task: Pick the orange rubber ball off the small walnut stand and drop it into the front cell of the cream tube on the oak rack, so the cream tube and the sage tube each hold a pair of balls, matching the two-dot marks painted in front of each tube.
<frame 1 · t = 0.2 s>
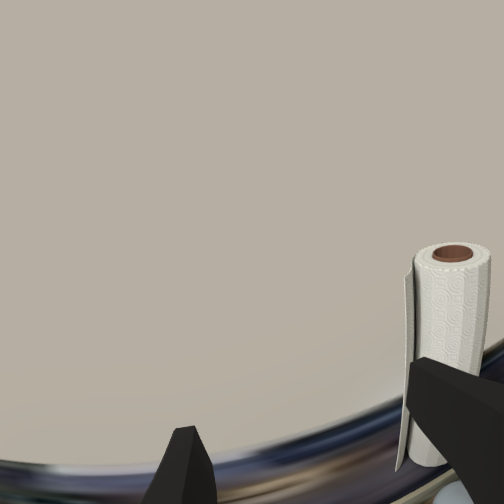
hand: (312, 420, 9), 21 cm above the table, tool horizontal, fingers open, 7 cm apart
ball slate b: (455, 502, 15), point 3 cm above the table, touching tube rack
paper towel roll: (428, 448, 25), on the table
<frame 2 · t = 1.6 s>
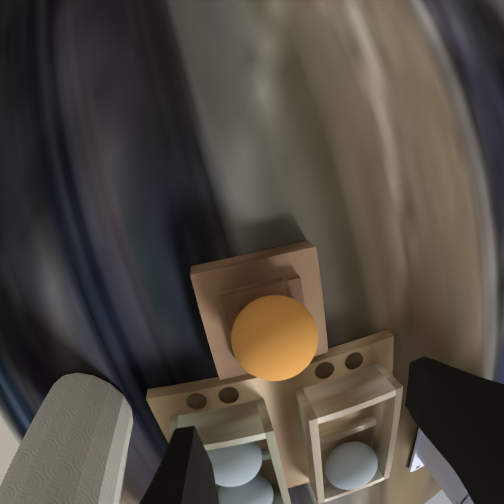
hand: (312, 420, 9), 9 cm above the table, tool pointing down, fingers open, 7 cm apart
ball slate c: (245, 495, 18), point 3 cm above the table, touching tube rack
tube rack: (286, 436, 21), on the table
ball orange: (274, 338, 15), point 4 cm above the table, touching stand
stand: (260, 307, 18), on the table
ball slate b: (229, 457, 17), point 3 cm above the table, touching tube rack
ball slate a: (351, 465, 19), point 3 cm above the table, touching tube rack
paper towel roll: (92, 409, 18), on the table
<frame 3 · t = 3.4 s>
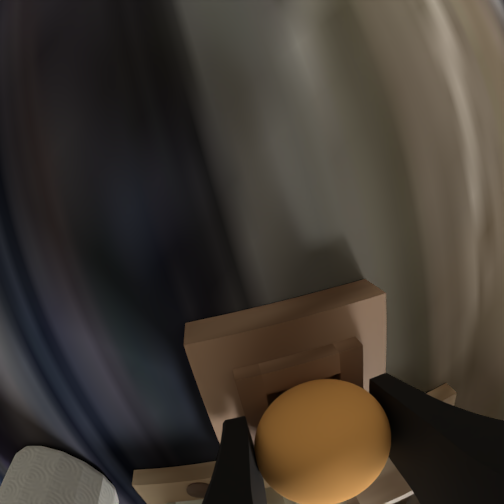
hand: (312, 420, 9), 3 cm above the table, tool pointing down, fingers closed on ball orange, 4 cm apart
ball orange: (323, 443, 8), point 4 cm above the table, touching gripper, stand
stand: (291, 376, 12), on the table
paper towel roll: (67, 481, 12), on the table
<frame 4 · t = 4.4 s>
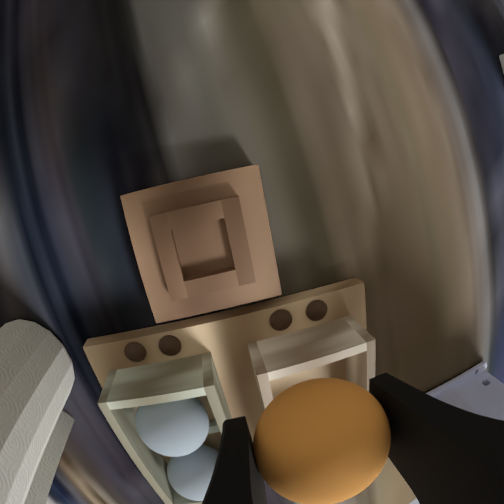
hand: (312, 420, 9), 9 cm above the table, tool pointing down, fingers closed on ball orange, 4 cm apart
ball slate c: (198, 472, 17), point 3 cm above the table, touching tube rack
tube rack: (245, 405, 19), on the table
ball orange: (322, 442, 8), point 10 cm above the table, touching gripper
stand: (202, 240, 16), on the table
ball slate b: (171, 422, 15), point 3 cm above the table, touching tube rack
paper towel roll: (36, 364, 17), on the table
when the fingers open (5 cm above the table, at t = 5.9 s): ball orange drops 3 cm, resting on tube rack.
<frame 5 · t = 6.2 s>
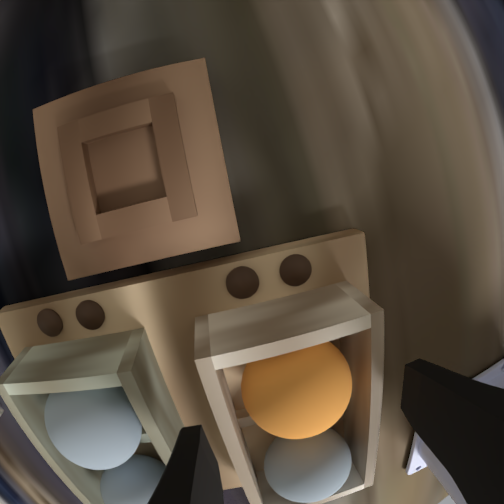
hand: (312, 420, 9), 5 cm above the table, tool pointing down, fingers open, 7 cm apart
ball slate c: (141, 491, 11), point 3 cm above the table, touching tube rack
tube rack: (204, 407, 14), on the table
ball orange: (296, 386, 11), point 3 cm above the table, touching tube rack
stand: (135, 169, 11), on the table
ball slate b: (92, 422, 10), point 3 cm above the table, touching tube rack
ball slate a: (307, 463, 12), point 3 cm above the table, touching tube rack
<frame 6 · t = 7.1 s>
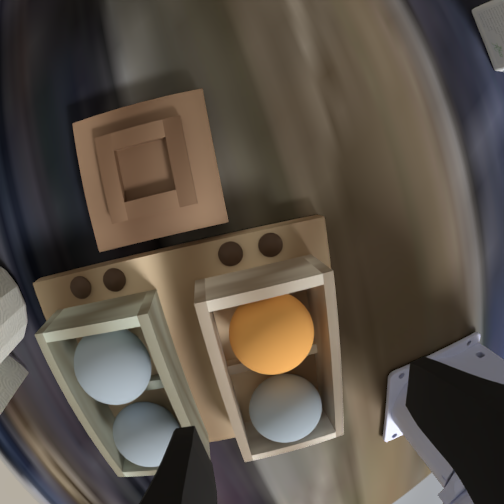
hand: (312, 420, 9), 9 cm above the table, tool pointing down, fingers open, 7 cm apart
ball slate c: (146, 434, 15), point 3 cm above the table, touching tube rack
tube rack: (201, 361, 18), on the table
ball orange: (271, 332, 15), point 3 cm above the table, touching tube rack
stand: (151, 170, 15), on the table
ball slate b: (112, 365, 14), point 3 cm above the table, touching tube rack
ball slate a: (285, 408, 16), point 3 cm above the table, touching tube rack
syrup box: (496, 41, 16), on the table
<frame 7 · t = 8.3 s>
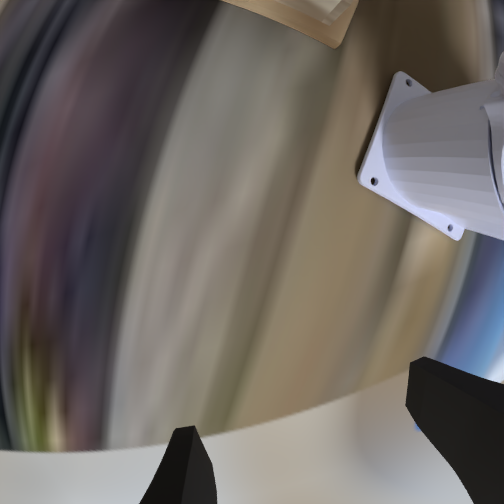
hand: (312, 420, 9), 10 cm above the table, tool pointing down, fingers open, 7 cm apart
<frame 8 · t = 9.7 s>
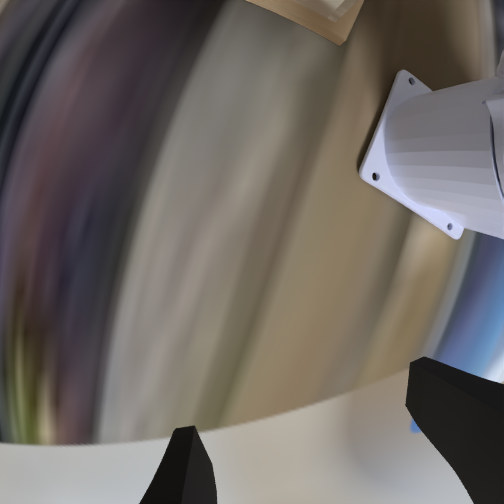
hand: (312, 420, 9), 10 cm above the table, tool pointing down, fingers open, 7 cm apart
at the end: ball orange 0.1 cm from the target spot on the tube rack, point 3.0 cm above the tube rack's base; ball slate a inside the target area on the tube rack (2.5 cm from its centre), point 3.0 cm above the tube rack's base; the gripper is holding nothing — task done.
